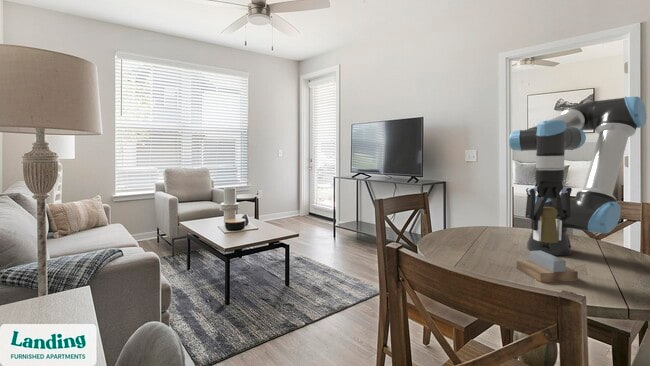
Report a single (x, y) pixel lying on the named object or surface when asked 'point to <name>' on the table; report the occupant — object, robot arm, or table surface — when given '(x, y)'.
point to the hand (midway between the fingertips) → (546, 239)
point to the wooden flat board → (545, 272)
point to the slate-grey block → (548, 261)
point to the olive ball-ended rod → (549, 225)
